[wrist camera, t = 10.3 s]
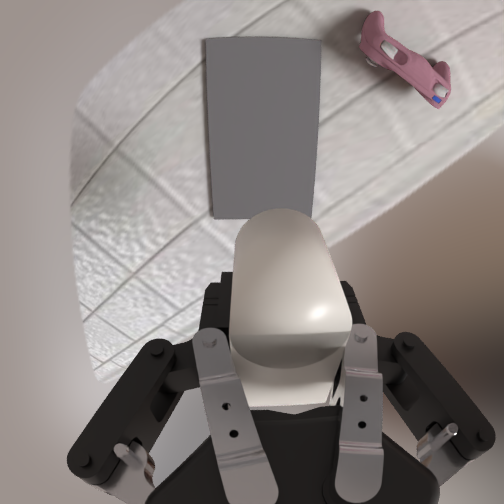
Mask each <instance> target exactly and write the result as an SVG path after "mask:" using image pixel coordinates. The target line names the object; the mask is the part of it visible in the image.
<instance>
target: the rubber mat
mask: <svg viewBox="0 0 504 504" xmlns="http://www.w3.org/2000/svg"><path fill="white" fill-rule="evenodd" d="M206 74H207V104H208V128H209V149H210V167H211V184H212V200H213V214H214V219H251V218H252V217H254V216H255V215H257V214H259V213H261V212H264V211H267V210H271V209H279V208H284V209H292V210H296V211H299V212H301V213H303V214H305V215H307V216H309V217H310V218H311V216H312V205H313V194H314V182H315V170H316V156H317V141H318V124H319V103H320V76H321V40H312V39H299V38H282V37H226V38H209V39H206Z"/></svg>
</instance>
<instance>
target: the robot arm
mask: <svg viewBox="0 0 504 504" xmlns="http://www.w3.org/2000/svg"><path fill="white" fill-rule="evenodd" d="M232 279H233V272H222V274H221V283H210V284H209V286H208V287H207V288H206V290H205V295H204V301H203V307H202V313H201V319H200V325H199V331H198V332H197V333H196V334H195V335H194V337H193V339H191V340H189V341H187V342H184V343H180V344H176V345H172V344H171V343H170V342H169V341H168V340H165V339H153V340H151V341H149V342H147V343H146V344H145V345H144V346H143V347H142V349H141V350H140V352H139V353H138V354H137V356H136V357H135V358H134V360H133V361H132V362H131V364H130V365H129V367H128V368H127V369H126V371H125V372H124V374H123V375H122V376H121V378H120V379H119V381H118V382H117V383H116V385H115V386H114V387H113V389H112V390H111V392H110V393H109V394H108V396H107V397H106V399H105V400H104V402H103V403H102V404H101V406H100V407H99V409H98V410H97V411H96V413H95V414H94V416H93V417H92V419H91V420H90V422H89V423H88V424H87V426H86V427H85V429H84V430H83V432H82V433H81V435H80V436H79V437H78V439H77V441H76V442H75V443H74V445H73V446H72V448H71V449H70V451H69V453H68V455H67V464H68V467H69V469H70V470H71V472H72V473H73V474H74V475H76V476H77V477H79V478H81V479H82V480H83V481H85V482H86V483H88V484H89V485H91V486H93V487H95V488H96V489H98V490H100V491H103V492H106V493H107V494H109V495H113V496H115V497H117V498H118V499H120V500H122V501H124V502H125V503H127V504H438V501H439V496H440V488H439V487H440V486H441V485H442V484H444V483H445V482H446V481H447V480H448V479H450V478H451V477H452V476H453V475H454V474H456V473H457V472H458V471H459V470H460V469H461V468H463V467H464V466H466V465H468V464H469V463H471V462H472V461H473V460H475V459H476V458H478V457H479V456H481V455H482V454H483V453H485V452H486V451H488V450H489V449H490V448H491V447H492V446H493V445H494V442H495V431H494V428H493V427H492V426H491V424H490V423H489V422H488V420H487V419H486V418H485V416H484V415H483V414H482V413H481V411H480V410H479V409H478V407H477V406H476V405H475V404H474V403H473V401H472V400H471V399H470V397H469V396H468V395H467V394H466V392H465V391H464V390H463V389H462V388H461V386H460V385H459V384H458V383H457V381H456V380H455V379H454V378H453V377H452V375H451V374H450V373H449V372H448V371H447V370H446V368H445V367H444V366H443V365H442V364H441V362H440V361H439V360H438V359H437V358H436V357H435V356H434V355H433V353H432V352H431V351H430V350H429V349H428V348H427V346H426V345H425V344H424V343H423V342H422V341H421V340H420V338H419V337H417V336H416V335H414V334H412V333H409V332H402V333H399V334H398V335H397V336H396V337H395V339H391V338H385V337H380V336H378V335H376V333H375V332H374V330H373V329H372V328H371V327H369V326H367V325H366V323H365V320H364V317H363V315H362V312H361V309H360V306H359V304H358V302H357V299H356V297H355V293H354V291H353V288H352V287H351V286H350V285H349V284H348V283H347V282H346V281H340V284H341V286H342V289H343V292H344V295H345V298H346V301H347V304H348V306H349V309H350V312H351V316H352V328H351V332H350V335H349V338H348V341H347V344H346V346H345V348H344V351H343V354H342V359H341V362H340V365H339V367H338V370H337V373H336V376H334V379H333V382H332V390H331V398H330V404H329V406H325V407H318V408H315V409H312V410H309V411H306V412H303V413H299V414H287V413H282V412H276V411H270V410H250V409H249V405H248V402H247V399H246V396H245V393H244V389H243V386H242V383H241V380H240V377H239V375H238V374H237V373H236V370H235V366H234V363H233V360H232V356H231V350H230V339H229V324H230V309H231V294H232ZM197 387H200V388H201V392H202V397H203V402H204V407H205V412H206V416H207V421H208V425H209V429H210V434H211V435H210V436H209V437H208V438H207V439H206V440H205V441H204V442H203V443H202V444H201V445H200V446H199V447H198V448H197V449H196V450H195V451H194V452H193V453H192V454H191V455H190V456H189V457H188V458H187V459H186V460H185V461H184V462H183V463H182V464H181V465H180V466H179V467H178V468H177V469H176V470H175V471H174V472H173V473H171V474H170V475H169V476H168V477H167V478H166V479H165V480H164V481H163V482H162V483H161V484H160V485H159V486H158V487H156V488H155V486H154V484H153V480H152V477H153V473H154V470H155V463H154V460H153V458H152V457H151V456H150V455H149V452H150V450H151V449H152V447H153V445H154V444H155V442H156V440H157V438H158V437H159V435H160V433H161V431H162V430H163V428H164V426H165V424H166V423H167V421H168V419H169V418H170V416H171V414H172V412H173V411H174V409H175V407H176V405H177V403H178V402H179V400H180V398H181V396H182V395H183V393H184V391H186V390H189V389H194V388H197ZM383 392H384V394H385V395H386V396H387V398H388V399H389V401H390V402H391V404H392V405H393V406H394V408H395V409H396V411H397V412H398V413H399V415H400V416H401V418H402V419H403V420H404V422H405V423H406V425H407V426H408V427H409V429H410V430H411V432H412V433H413V435H414V436H415V437H416V439H417V440H418V443H417V457H418V459H420V462H419V461H418V460H417V459H415V458H414V457H413V456H412V455H410V454H409V453H408V452H407V451H405V450H404V449H403V448H402V447H400V446H399V445H398V444H397V443H395V442H394V441H393V440H392V439H391V438H389V437H388V436H387V435H386V434H384V433H383V432H382V416H383V414H382V413H383V412H382V411H383Z"/></svg>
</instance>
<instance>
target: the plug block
mask: <svg viewBox="0 0 504 504" xmlns="http://www.w3.org/2000/svg"><path fill="white" fill-rule="evenodd" d="M351 328H352V316H351V312H350V309H349V306H348V304H347V301H346V298H345V295H344V292H343V289H342V286H341V284H340V281H339V278H338V275H337V272H336V270H335V267H334V264H333V261H332V259H331V256H330V254H329V251H328V248H327V246H326V243H325V240H324V238H323V235H322V233H321V230H320V228H319V227H318V225H317V224H316V223H315V222H314V221H313V220H312V219H311V218H310V217H309V216H307V215H305V214H303V213H301V212H299V211H296V210H292V209H284V208H279V209H271V210H267V211H264V212H261V213H259V214H257V215H255V216H254V217H252V218H251V219H249V220H248V221H247V222H246V223H245V224H244V225H243V227H242V228H241V229H240V231H239V233H238V235H237V238H236V242H235V251H234V265H233V279H232V294H231V309H230V324H229V339H230V350H231V356H232V360H233V363H234V366H235V370H236V373H237V374H238V375H239V377H240V380H241V383H242V386H243V389H244V393H245V396H246V399H247V402H248V405H249V406H283V405H301V404H314V403H325V402H326V399H327V397H328V394H329V391H330V389H331V386H332V382H333V379H334V376H336V373H337V370H338V367H339V365H340V362H341V359H342V354H343V351H344V348H345V346H346V344H347V341H348V338H349V335H350V332H351Z"/></svg>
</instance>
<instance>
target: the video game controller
mask: <svg viewBox="0 0 504 504" xmlns="http://www.w3.org/2000/svg"><path fill="white" fill-rule="evenodd" d="M359 48H360V49H361V50H362V52H364V53H365V54H366V55H367V56H368V57H369V58H367V57H366V61H367V62H368V63H369V64H370V65H371V66H374V67H377V64H379V65H381V66H382V67H384V68H386V69H388V70H393V71H394V72H396V73H397V74H398V75H399V76H401V77H402V78H403V79H404V80H406V81H407V82H408V83H410V84H411V85H412V86H414V87H415V89H416V90H417V91H418V92H419V93H420V94H421V95H422V96H423V97H424V98H425V99H426V100H427V101H428V102H429V103H430V104H431V105H432V106H434V107H435V108H437V109H439V108H440V107H441V106H442V105H443V104H444V103H445V102H446V100H447V99H448V97H449V95H450V92H451V84H450V68H449V66H448V64H447V63H446V62H443V61H440V62H438V63H437V64H436V65H435V66H434V67H433V68H432V67H431V65H430V64H429V63H428V61H427V60H426V59H425V58H423V57H422V56H421V55H419V54H417V53H415V52H413V51H411V50H409V49H407V48H406V47H405V46H403V45H402V44H401V43H399V42H398V41H396V40H395V39H393V38H392V37H390V36H388V35H387V34H386V33H385V30H384V17H383V15H382V13H381V12H380V11H374V12H372V13H370V14H369V15H368V16H367V18H366V20H365V22H364V24H363V28H362V32H361V43H360V45H359ZM376 63H377V64H376Z"/></svg>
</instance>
